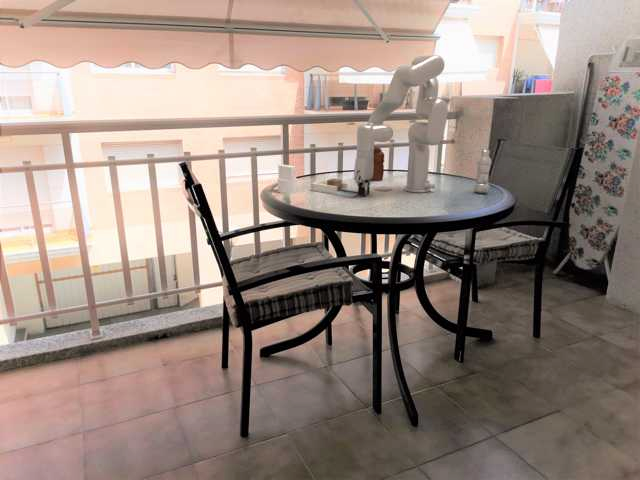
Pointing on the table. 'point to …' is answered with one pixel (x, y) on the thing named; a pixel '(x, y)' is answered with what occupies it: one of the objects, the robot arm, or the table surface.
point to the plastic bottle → (482, 172)
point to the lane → (326, 187)
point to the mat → (348, 194)
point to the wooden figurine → (378, 164)
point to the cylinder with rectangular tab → (287, 179)
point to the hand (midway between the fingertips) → (363, 194)
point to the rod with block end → (339, 185)
